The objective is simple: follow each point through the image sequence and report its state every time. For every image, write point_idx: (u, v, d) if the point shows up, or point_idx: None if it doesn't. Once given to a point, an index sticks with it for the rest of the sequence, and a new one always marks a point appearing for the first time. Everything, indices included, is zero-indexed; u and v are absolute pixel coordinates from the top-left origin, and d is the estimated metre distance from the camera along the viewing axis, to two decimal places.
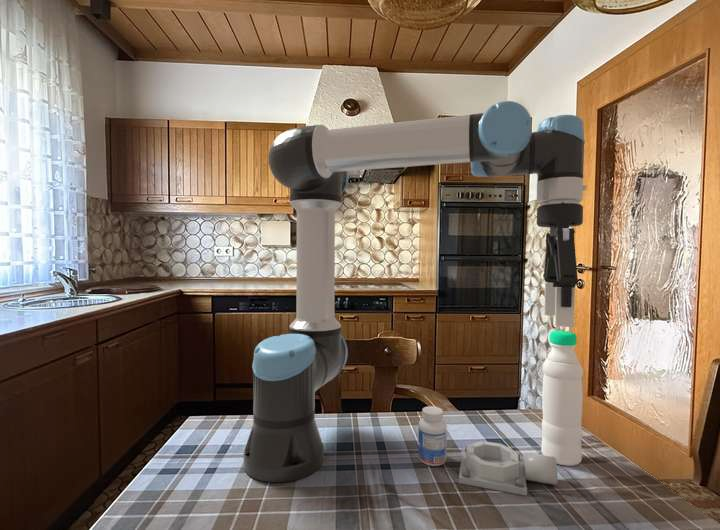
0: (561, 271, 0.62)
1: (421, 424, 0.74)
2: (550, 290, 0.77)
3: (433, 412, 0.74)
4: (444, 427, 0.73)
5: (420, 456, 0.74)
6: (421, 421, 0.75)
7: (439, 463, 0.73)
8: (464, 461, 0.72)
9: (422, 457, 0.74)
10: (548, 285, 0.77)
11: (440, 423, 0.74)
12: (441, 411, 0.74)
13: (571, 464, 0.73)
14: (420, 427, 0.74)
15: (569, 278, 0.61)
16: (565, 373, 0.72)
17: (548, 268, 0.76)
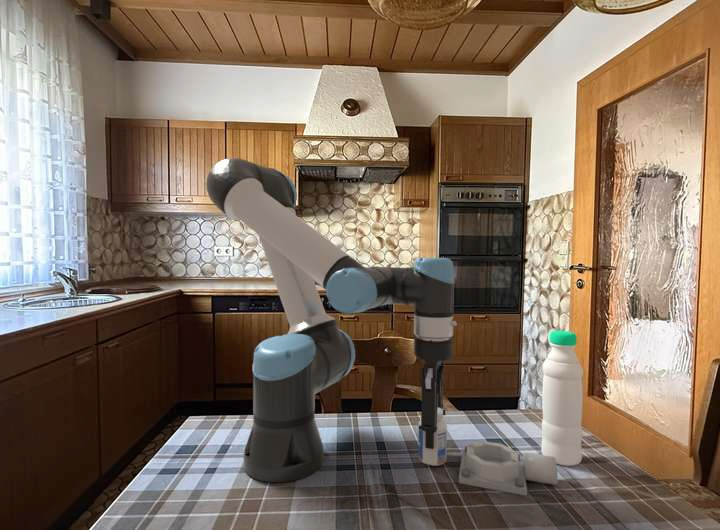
0: (422, 421, 0.69)
1: None
2: None
3: None
4: (444, 427, 0.73)
5: (420, 456, 0.74)
6: None
7: (439, 463, 0.73)
8: (464, 461, 0.72)
9: (422, 457, 0.74)
10: None
11: (440, 423, 0.74)
12: (441, 411, 0.74)
13: (571, 464, 0.73)
14: None
15: (428, 427, 0.69)
16: (565, 373, 0.72)
17: None
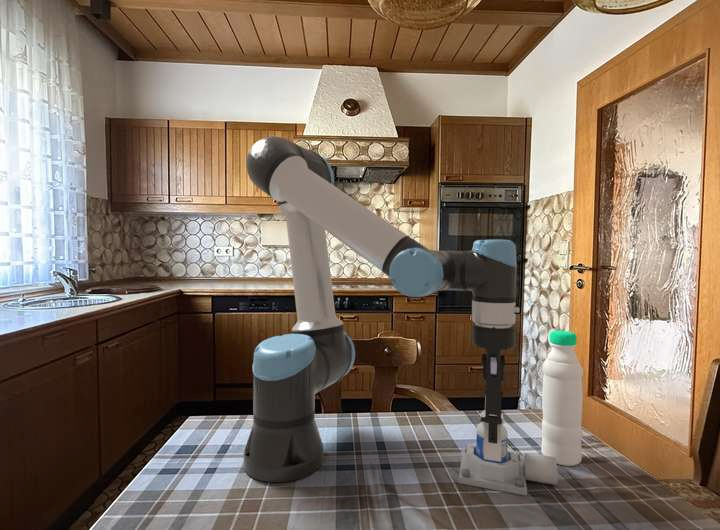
0: (486, 410, 0.63)
1: (481, 430, 0.69)
2: None
3: None
4: (506, 433, 0.69)
5: None
6: (480, 426, 0.70)
7: None
8: (464, 461, 0.72)
9: None
10: None
11: (501, 429, 0.69)
12: (501, 416, 0.70)
13: (571, 464, 0.73)
14: (479, 433, 0.69)
15: (493, 418, 0.62)
16: (565, 373, 0.72)
17: None
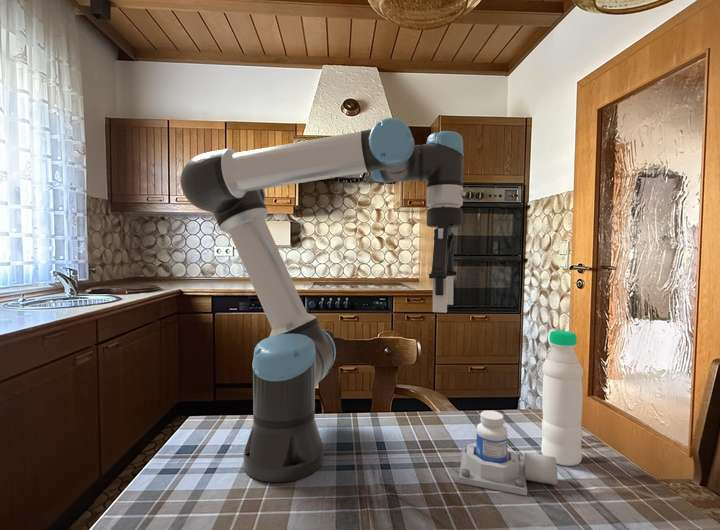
0: (433, 265, 0.73)
1: (481, 430, 0.69)
2: None
3: (494, 417, 0.69)
4: (506, 433, 0.69)
5: None
6: (480, 426, 0.70)
7: None
8: (464, 461, 0.72)
9: None
10: None
11: (501, 429, 0.69)
12: (501, 416, 0.70)
13: (571, 464, 0.73)
14: (479, 433, 0.69)
15: (438, 270, 0.72)
16: (565, 373, 0.72)
17: None
